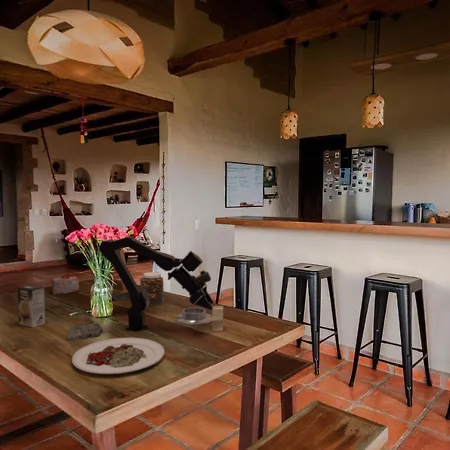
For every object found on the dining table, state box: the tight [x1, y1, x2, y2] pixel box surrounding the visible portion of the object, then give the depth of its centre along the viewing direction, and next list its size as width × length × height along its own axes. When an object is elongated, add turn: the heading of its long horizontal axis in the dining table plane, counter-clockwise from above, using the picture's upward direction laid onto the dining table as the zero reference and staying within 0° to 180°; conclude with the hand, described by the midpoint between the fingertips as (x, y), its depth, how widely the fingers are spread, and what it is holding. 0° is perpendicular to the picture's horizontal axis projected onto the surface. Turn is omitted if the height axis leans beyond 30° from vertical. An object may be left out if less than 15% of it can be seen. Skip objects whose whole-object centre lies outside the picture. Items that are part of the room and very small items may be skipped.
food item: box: [51, 274, 80, 295], centre depth 227 cm, size 14×8×10 cm, turn 121°
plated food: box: [71, 337, 165, 375], centre depth 137 cm, size 30×30×3 cm
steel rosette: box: [175, 306, 212, 326], centre depth 179 cm, size 16×16×4 cm
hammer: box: [111, 248, 140, 301], centre depth 214 cm, size 20×5×30 cm, turn 121°
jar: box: [139, 271, 165, 307], centre depth 206 cm, size 12×12×15 cm
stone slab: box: [65, 320, 104, 341], centre depth 162 cm, size 13×17×3 cm
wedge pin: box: [211, 305, 224, 332], centre depth 167 cm, size 4×4×9 cm
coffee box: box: [17, 283, 46, 328], centre depth 171 cm, size 9×6×16 cm
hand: (212, 306), depth 167 cm, fingers open, 9 cm apart
